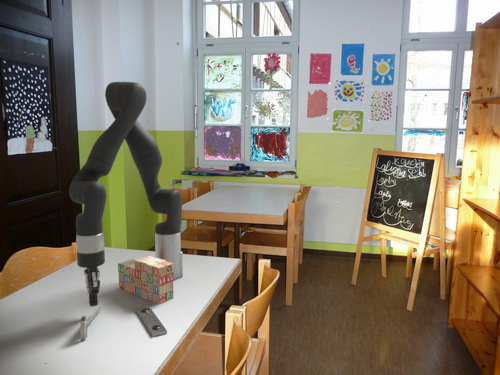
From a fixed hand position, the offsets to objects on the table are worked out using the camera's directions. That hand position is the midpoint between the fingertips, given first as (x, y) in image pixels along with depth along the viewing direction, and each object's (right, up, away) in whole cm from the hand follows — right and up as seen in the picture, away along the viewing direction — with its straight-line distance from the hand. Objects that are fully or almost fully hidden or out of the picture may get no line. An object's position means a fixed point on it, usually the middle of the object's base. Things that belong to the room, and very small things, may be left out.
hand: (93, 304), depth 121 cm
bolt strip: (+18, -4, -3) cm, 18 cm away
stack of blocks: (+11, -1, +18) cm, 21 cm away
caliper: (+1, -4, -4) cm, 6 cm away
